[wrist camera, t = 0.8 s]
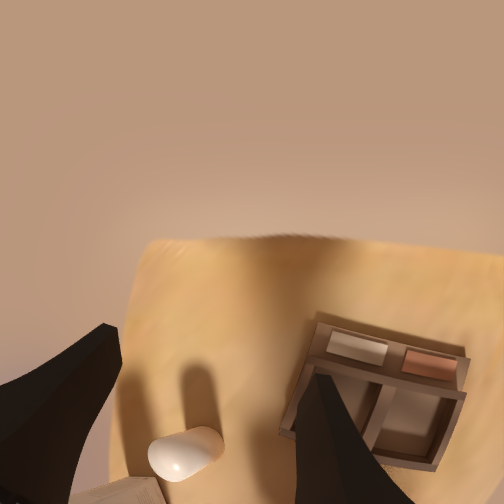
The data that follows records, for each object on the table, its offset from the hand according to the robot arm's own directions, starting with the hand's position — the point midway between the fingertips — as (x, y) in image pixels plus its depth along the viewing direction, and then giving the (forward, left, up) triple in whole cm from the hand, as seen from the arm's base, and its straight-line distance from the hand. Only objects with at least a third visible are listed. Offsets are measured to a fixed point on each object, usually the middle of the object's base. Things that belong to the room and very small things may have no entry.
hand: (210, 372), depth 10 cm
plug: (-9, +4, -14) cm, 17 cm away
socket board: (0, -8, -14) cm, 16 cm away
